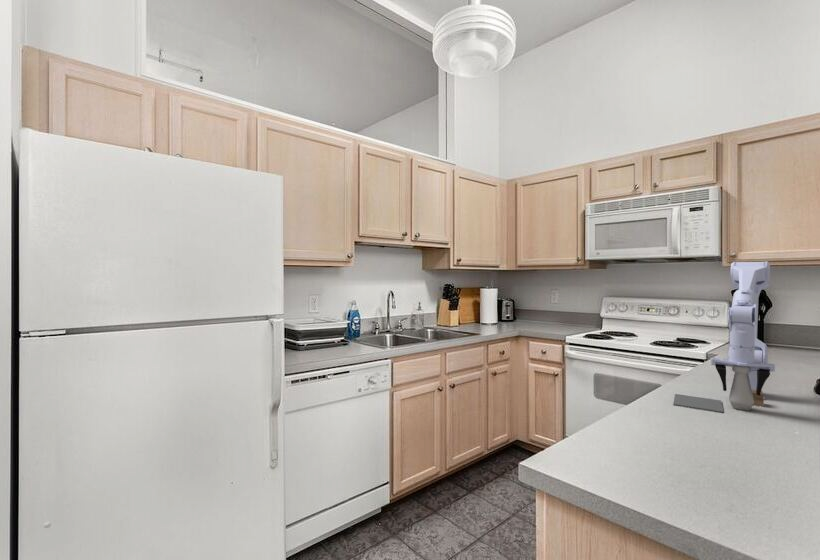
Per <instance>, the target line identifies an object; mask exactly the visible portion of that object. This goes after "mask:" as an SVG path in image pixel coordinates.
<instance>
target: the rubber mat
mask: <svg viewBox="0 0 820 560" xmlns="http://www.w3.org/2000/svg"><path fill="white" fill-rule="evenodd" d="M672 406H677V407H682V406H683V407H684V408H688V407H689V408H688V409H696V410H702V411H708V412H713V413H721V414H724V407H723V403H722V400H721V399H715V398H707V397H700V396H693V395H686V394H678V393H675V394H674V399H673V404H672Z"/></svg>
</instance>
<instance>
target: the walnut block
mask: <svg viewBox="0 0 820 560" xmlns="http://www.w3.org/2000/svg"><path fill="white" fill-rule="evenodd" d="M752 395H753V399H754V404H753V405H752V406H754V405H755V407H760V406H761V407H763V408H764V400H765V399H764V398H765V396H764V395H765V394H764V392H763V391H761V394H760V396H759V395H757V394H756V390H752Z"/></svg>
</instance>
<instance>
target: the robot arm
mask: <svg viewBox="0 0 820 560" xmlns="http://www.w3.org/2000/svg"><path fill="white" fill-rule="evenodd" d="M770 274H771V265H770V262H769V261H733V262H732V263H730V279H731V283H732V285H733V288H736V289H737V290H735V292H734V293H733V297H732V301H731V302H732V303H731V307H730V306H729V307H728V310H727V321H728V330H729V348H728V354H727V356H728V358H718V357H711V358H710V365H711V366H715V370H716V371H717V374H718V376H719V378H720V381H721V383H722V391H724V392H727V367H730V368H732V367H733V365H740V366H750V368H751V372H750V373H749V374H748V376H749V380H750V385H751V390H756V394H757V395H759V396H760V394H761V391H762V390H763V388H764V385H765V384H766V381H767V380H768V378H769V377H770V376H771V372H773V373H775V372H776V365H775V364H774V363H769V352H768V346H767V344H766V343H764V342H763V341H762V340H760V339H758V321H759V320H758V319H759V317H758V316H759V297H760V293H761V292H762V290H765V289H767V288H768V287H769V285H770V277H771V275H770ZM734 374H735V372H734V371H733V375H734ZM762 392H763V391H762ZM765 398H766V397H764V400H765Z"/></svg>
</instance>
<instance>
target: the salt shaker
mask: <svg viewBox="0 0 820 560" xmlns="http://www.w3.org/2000/svg"><path fill="white" fill-rule="evenodd" d="M731 368H732V369H731V371H732V372H733V378H732V379H733V380H732V383H731V387H730V392H729V394H728V402H729V403H730V405H731V406H732V408H733V409H734V410H738V409H739V411H745V410H747V411H746V412H749V411H750V410H751V409H752V407H753V406H754V405H753V404H754V399H753V395H752V390H751V385H750V380H749V376H748V374H749V373H750V372H751V368H750V366H740V365H733V367H731ZM734 372H735V374H734Z"/></svg>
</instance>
